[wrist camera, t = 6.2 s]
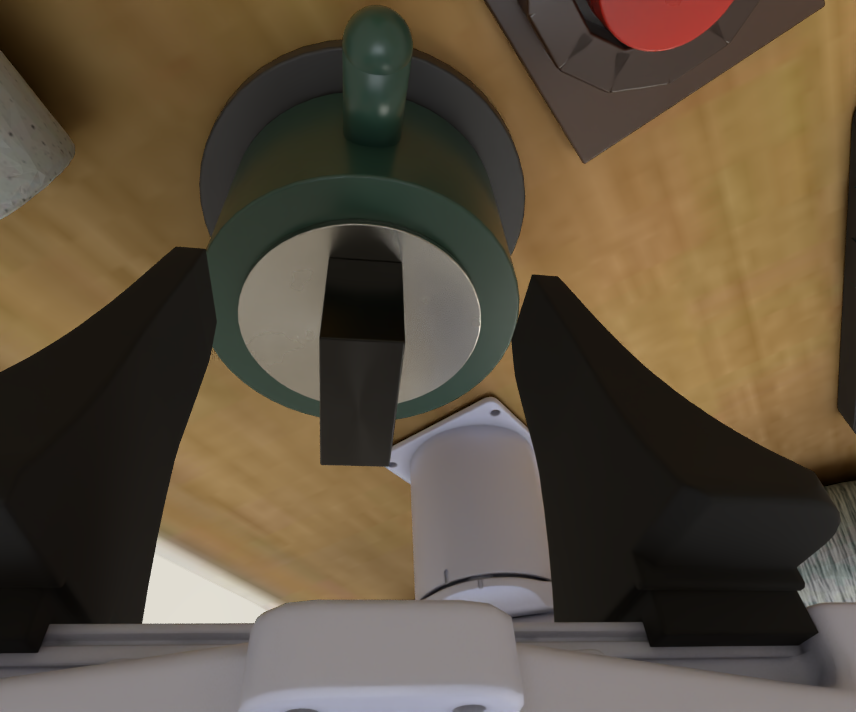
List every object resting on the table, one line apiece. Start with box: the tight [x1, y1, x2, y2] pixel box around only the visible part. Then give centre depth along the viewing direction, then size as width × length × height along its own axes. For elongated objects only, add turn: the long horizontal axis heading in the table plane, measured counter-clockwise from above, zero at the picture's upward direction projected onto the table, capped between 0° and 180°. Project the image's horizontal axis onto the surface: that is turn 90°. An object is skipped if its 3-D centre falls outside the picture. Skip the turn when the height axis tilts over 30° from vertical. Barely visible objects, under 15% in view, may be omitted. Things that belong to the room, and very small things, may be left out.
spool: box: [797, 481, 856, 607], centre depth 36 cm, size 14×10×10 cm
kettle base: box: [199, 40, 525, 256], centre depth 22 cm, size 12×12×1 cm
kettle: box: [206, 5, 519, 467], centre depth 18 cm, size 16×10×9 cm, turn 173°
